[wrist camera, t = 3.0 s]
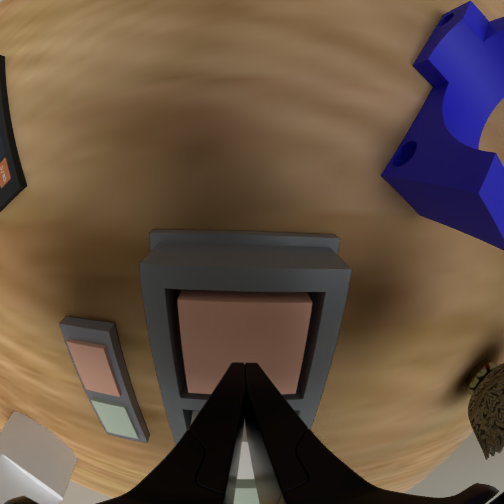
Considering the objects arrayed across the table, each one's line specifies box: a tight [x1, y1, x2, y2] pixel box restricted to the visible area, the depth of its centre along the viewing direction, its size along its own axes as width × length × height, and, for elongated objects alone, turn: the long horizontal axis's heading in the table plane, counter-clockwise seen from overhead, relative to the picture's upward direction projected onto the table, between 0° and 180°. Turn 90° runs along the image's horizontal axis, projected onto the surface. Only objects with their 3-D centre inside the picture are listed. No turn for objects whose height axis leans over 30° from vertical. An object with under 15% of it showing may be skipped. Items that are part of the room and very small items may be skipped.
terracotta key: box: [177, 289, 312, 394], centre depth 10 cm, size 4×4×2 cm
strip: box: [59, 316, 150, 443], centre depth 13 cm, size 10×3×1 cm, turn 177°
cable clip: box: [381, 1, 504, 250], centre depth 7 cm, size 12×4×6 cm, turn 146°
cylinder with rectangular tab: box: [0, 412, 78, 504], centre depth 11 cm, size 9×9×12 cm
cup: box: [466, 359, 504, 460], centre depth 12 cm, size 8×7×8 cm
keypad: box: [139, 229, 352, 444], centre depth 13 cm, size 20×8×3 cm, turn 177°
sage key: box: [234, 479, 260, 504], centre depth 13 cm, size 4×4×2 cm
